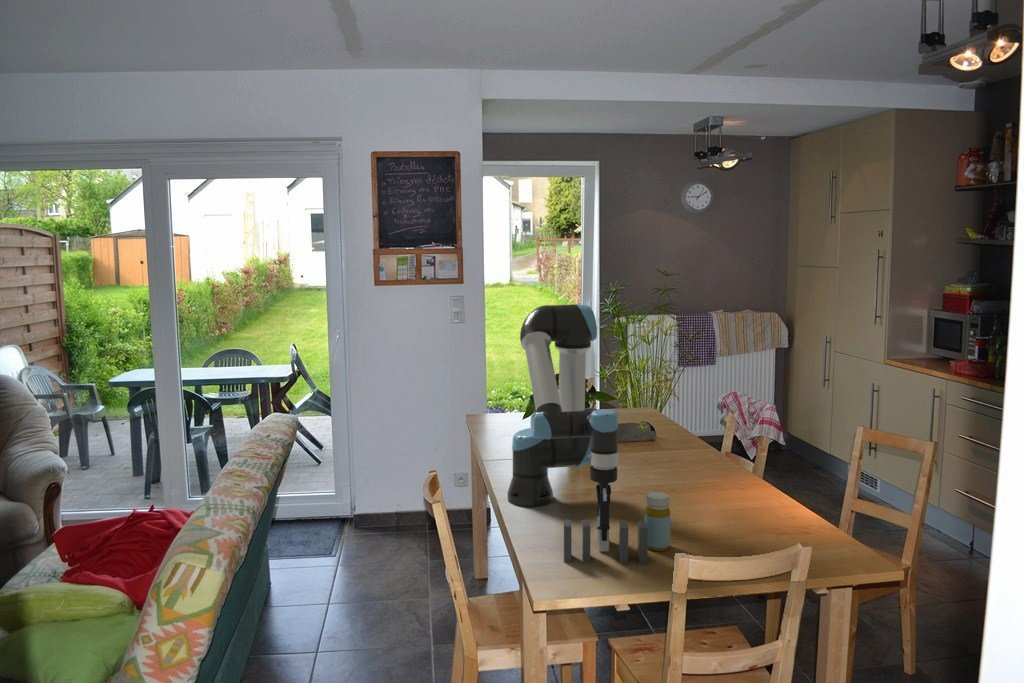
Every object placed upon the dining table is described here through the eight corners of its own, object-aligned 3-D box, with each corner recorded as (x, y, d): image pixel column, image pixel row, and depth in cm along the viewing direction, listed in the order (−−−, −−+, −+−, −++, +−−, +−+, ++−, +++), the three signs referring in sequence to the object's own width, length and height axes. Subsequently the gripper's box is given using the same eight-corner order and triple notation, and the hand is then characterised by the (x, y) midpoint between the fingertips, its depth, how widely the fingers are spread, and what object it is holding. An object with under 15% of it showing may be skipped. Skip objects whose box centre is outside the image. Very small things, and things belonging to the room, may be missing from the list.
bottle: (666, 541, 218) (667, 490, 216) (672, 551, 211) (673, 499, 209) (641, 542, 218) (642, 491, 216) (647, 552, 211) (647, 499, 209)
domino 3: (620, 563, 204) (620, 527, 202) (619, 555, 209) (619, 520, 207) (628, 563, 203) (628, 527, 202) (626, 555, 208) (626, 520, 207)
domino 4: (639, 563, 203) (639, 527, 202) (637, 556, 208) (638, 520, 207) (647, 563, 203) (647, 527, 202) (644, 556, 208) (645, 520, 207)
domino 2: (582, 562, 204) (582, 526, 203) (582, 555, 209) (582, 519, 208) (590, 562, 204) (590, 526, 203) (589, 555, 209) (589, 520, 208)
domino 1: (563, 562, 205) (563, 526, 203) (563, 554, 210) (563, 519, 208) (571, 562, 204) (571, 526, 203) (571, 554, 209) (571, 519, 208)
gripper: (588, 455, 222) (588, 531, 225) (591, 477, 202) (591, 559, 205) (614, 456, 222) (614, 531, 225) (620, 477, 202) (619, 560, 205)
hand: (603, 544), depth 215 cm, fingers open, 7 cm apart
